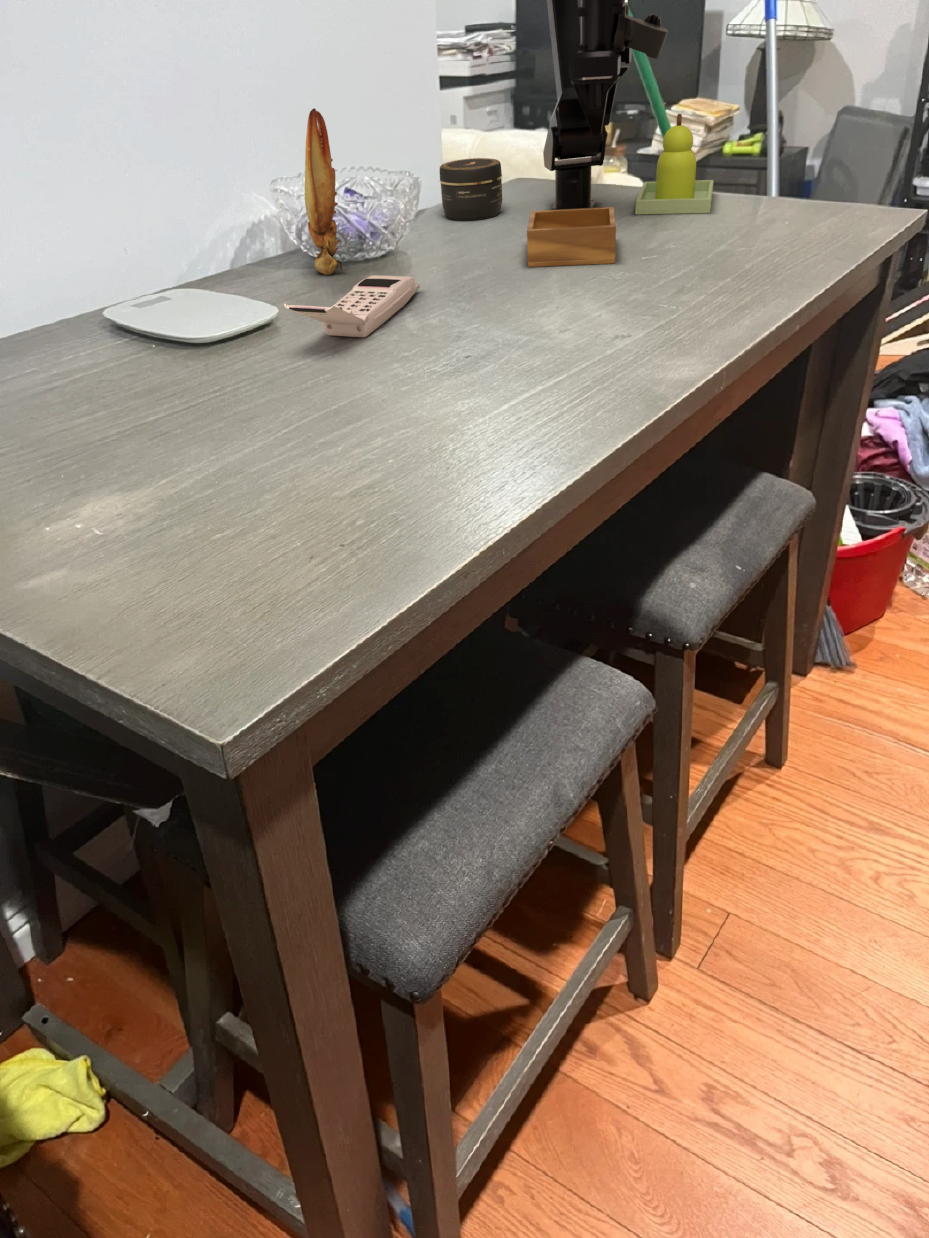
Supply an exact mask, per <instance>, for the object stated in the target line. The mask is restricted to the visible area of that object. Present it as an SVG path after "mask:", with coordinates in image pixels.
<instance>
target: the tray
mask: <svg viewBox="0 0 929 1238" xmlns="http://www.w3.org/2000/svg"><path fill="white" fill-rule="evenodd" d="M714 182H715V181H714V179H702V180H701V179H700V180H696V179H695V191H694V198H692V199H655V197H656V181H643V183H642V186H641V188H640V190H639V191H638V195H637V197H636V199H635V209H634V211H635V213H634V214H635V215H674V214H675V215H677V214H679V215H681V214H710V213H711V207H712V202H713V201H712V200H713V193H714V192H713V191H714Z"/></svg>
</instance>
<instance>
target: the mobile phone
mask: <svg viewBox="0 0 929 1238" xmlns="http://www.w3.org/2000/svg"><path fill="white" fill-rule="evenodd" d="M420 287H421V285H420V283H418V282H416V281H415V278H414V276H403V275H402V276H400V275H376V274H375V275H370V276H367V277H366V278H364V279H362V280H360V281H359V282H357V284H355V285H353V286H352V289H351V290H350V291H349V292H348V293H346V294H345V295H343V297H341V298H340V299H339V300H338V301H336V302H335V303H334V304H333V305H332V306H331V307H330V306H316V305H315V306H314V305H298V304H297V305H296V304H295V305H294V304H293V305H292V304H288V303H283V306H284V307H285V309H288V311H289V310H290V311H291V312H295V313H297V314H300V315H302V316H306V317H308V318H311V319H314V320H316V321H318V322H321V324H322V326H323V330H324V331H325V333H326V334H327V335H328V336H331V337H332V336H333V337H347V338H348V337H349V338H367V337H368V336H369V335H370V334H372V333H373V332H374V331H375V330H377V329H378V328H379V327H381V326H382V325H383V324H384V323H386V322H387V321H388V320H389V319H391V318H392V317H393V316H394V315H395V314H397V312H399V310H401V309H402V308H403V307H404V306H405V305H406V304H407V303H408V302H409V301H410V299H411V298H412V297H413V295H415V293H416V292H417V291H418V290H419V289H420Z"/></svg>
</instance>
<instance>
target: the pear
mask: <svg viewBox="0 0 929 1238" xmlns="http://www.w3.org/2000/svg"><path fill="white" fill-rule="evenodd" d="M682 121H683V115H682V113H678V114H677V115H676V125H673V126H671V127H670V128H669V129H668V130H666V132H665V134H664V135H663V138H662V149H663V151H662V152H660V153H661V154H660V155H659V157H658V159H657V163H656V177H655V182H656V197H655V199H692V198H694V191H695V180H696V176H697V174H696V173H697V157H696V155H695V152H694V151H693V150H692V148H693V146H694V135H693V132H692V131H691V130H690V128H689V127H688V126H686V125H683V124H682Z"/></svg>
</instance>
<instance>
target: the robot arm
mask: <svg viewBox="0 0 929 1238" xmlns="http://www.w3.org/2000/svg"><path fill="white" fill-rule="evenodd" d="M546 7H547V16H548V24H549V25H548V27H549V34H550V35H549V36H550V43H551V54H552V62H553V73H554V80H555V81H554V82H555V90H556V99H557V102H556V104H555V107H554V109H553V112H552V113H551V117H550V119H549V127H548V130H547V134H546V137H545V138H546V139H545V142H544V143H545V144H544V147H543V153H542V154H543V155H542V156H543V165H544V166H543V167H544V168H545V169H547V170H548V171H550V172H554V185H555V186H554V187H555V189H554V190H555V192H554V193H555V195H554V196H555V202H554V203H553V205H552V206H551V207H550V210H562V209H581V208H595V205H596V203H597V201H596V199H592V167H596V166H597V167H602V166H603V165H604V162H605V155H606V147H607V139H608V136H609V135H608V134H609V133H608V131H607V129H606V126H607V127H608V126H609V125H610V122H611V117H612V112H613V107H614V103H615V97H616V93H617V88H618V84H619V81H620V79H621V78H622V77H623V76H624V75H625V73H626V72H627V71H628V70H629V68H630V64H631V63H632V61H633V59H632V57H633V55H632V54H633V51H637V52H640V53H643V54H645V55H646V56H647V57H648V58H651V59H654V60H657V59H659V58H660V56H661V54H662V51H663V49H664V45H665V43H666V40H667V36H668V34H669V30H668V29H667V28H666V27H662V16H660V15H657V14H655V13H650V14H648V16H647V17H646V18H645V19H644V20H643V19H641V18H636V17H634V16H630V6H629V4H628V2H626V0H580V6H579V0H546ZM622 63H625V65H622ZM626 64H628V65H626Z"/></svg>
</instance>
